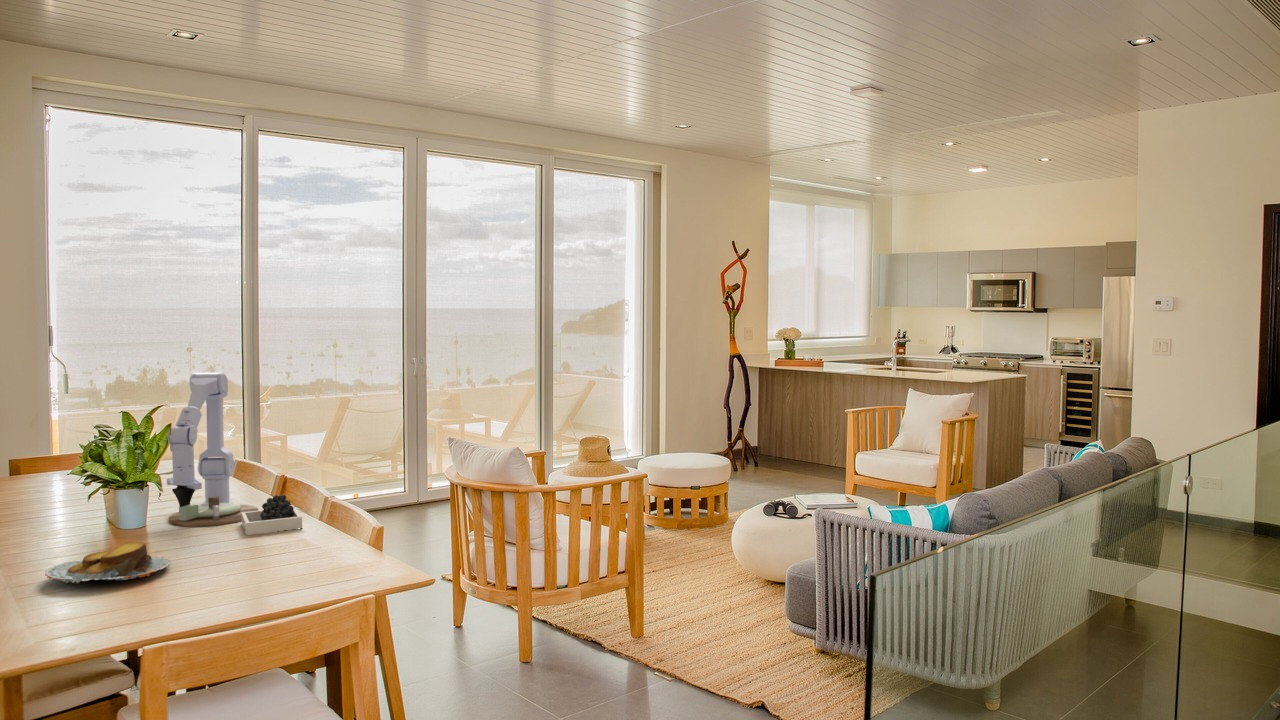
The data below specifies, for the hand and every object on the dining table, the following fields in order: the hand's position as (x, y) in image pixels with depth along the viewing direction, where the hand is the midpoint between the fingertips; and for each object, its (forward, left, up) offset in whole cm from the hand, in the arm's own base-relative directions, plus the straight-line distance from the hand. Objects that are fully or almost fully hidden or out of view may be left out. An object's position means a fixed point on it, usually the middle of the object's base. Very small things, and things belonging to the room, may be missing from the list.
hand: (185, 510), depth 263 cm
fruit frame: (+17, +22, -4) cm, 28 cm away
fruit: (+17, +23, -4) cm, 28 cm away
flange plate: (-3, +6, -2) cm, 7 cm away
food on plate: (+49, -18, -4) cm, 52 cm away
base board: (-5, +8, -4) cm, 10 cm away
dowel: (+5, +8, -4) cm, 10 cm away
